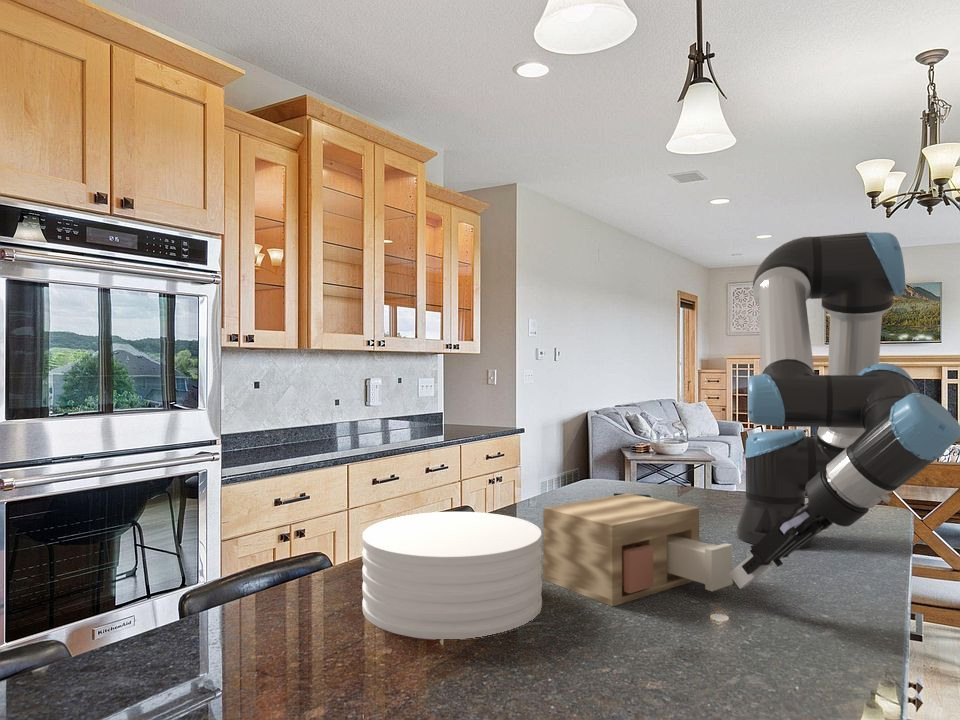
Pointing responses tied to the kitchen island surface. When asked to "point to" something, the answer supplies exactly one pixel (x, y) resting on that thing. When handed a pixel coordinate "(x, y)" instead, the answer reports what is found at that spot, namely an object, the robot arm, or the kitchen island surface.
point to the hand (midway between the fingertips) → (737, 580)
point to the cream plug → (700, 561)
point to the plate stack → (451, 574)
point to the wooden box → (612, 543)
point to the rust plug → (637, 568)
